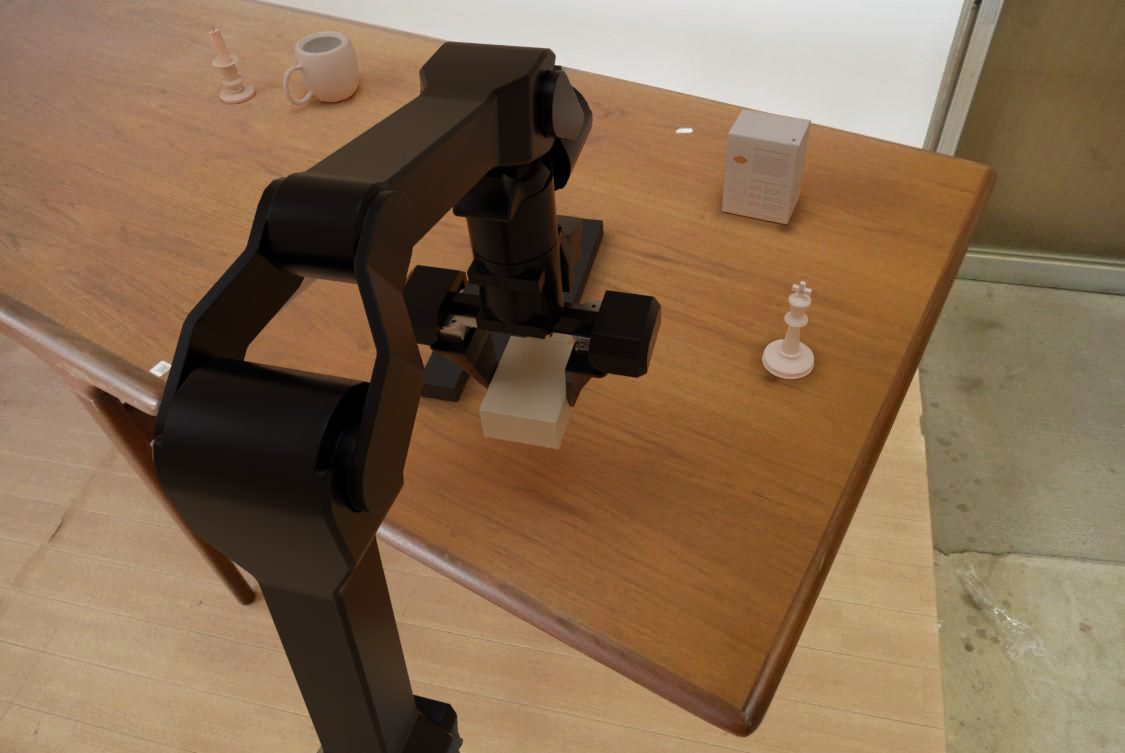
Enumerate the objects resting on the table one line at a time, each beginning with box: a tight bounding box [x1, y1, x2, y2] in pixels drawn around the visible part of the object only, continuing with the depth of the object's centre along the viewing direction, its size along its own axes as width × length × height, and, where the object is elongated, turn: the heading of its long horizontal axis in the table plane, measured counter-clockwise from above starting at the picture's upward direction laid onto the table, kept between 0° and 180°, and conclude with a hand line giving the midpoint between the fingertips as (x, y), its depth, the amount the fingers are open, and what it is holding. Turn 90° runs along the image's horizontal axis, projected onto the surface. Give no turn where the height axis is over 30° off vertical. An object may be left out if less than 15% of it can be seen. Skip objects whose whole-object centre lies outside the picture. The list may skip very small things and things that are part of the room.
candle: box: [209, 26, 256, 105], centre depth 122 cm, size 5×5×10 cm
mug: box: [282, 30, 360, 106], centre depth 120 cm, size 12×8×8 cm
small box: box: [721, 108, 812, 225], centre depth 95 cm, size 8×6×10 cm
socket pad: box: [420, 217, 604, 403], centre depth 89 cm, size 28×12×2 cm, turn 166°
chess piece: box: [761, 280, 815, 380], centre depth 78 cm, size 5×5×10 cm
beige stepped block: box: [478, 333, 574, 450], centre depth 66 cm, size 12×6×3 cm, turn 165°
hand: (534, 396), depth 66 cm, fingers closed on beige stepped block, 6 cm apart
